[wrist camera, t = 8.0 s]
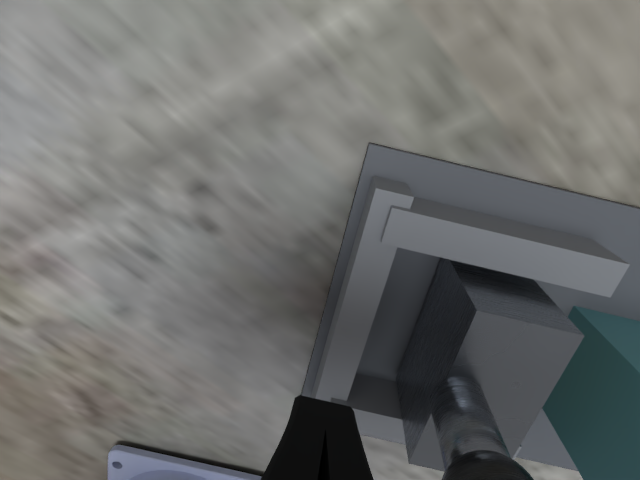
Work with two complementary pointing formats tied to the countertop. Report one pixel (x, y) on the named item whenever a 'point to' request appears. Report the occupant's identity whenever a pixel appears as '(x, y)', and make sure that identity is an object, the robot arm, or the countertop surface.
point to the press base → (467, 247)
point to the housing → (600, 398)
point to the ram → (480, 370)
